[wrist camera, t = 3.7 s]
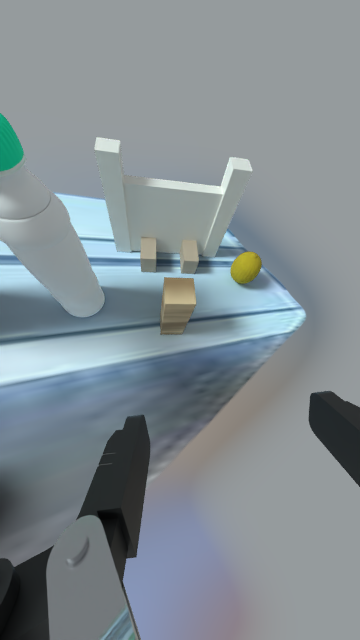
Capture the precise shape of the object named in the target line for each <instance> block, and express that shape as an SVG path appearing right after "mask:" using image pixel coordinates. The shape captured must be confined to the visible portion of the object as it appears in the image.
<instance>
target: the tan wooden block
mask: <svg viewBox="0 0 360 640" xmlns="http://www.w3.org/2000/svg"><path fill="white" fill-rule="evenodd" d="M195 306H196V297H195V287H194V279H193V278H167V277H164V286H163V295H162V304H161V312H160V329H161V335H162V334H182V333H183V331H184V329H185V327H186V325H187V323H188V321H189V319H190V316H191V314H192V312H193V310H194V308H195Z"/></svg>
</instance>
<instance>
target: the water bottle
mask: <svg viewBox="0 0 360 640" xmlns="http://www.w3.org/2000/svg"><path fill="white" fill-rule="evenodd" d="M25 163H26V157H25V155H24V152H23V149H22V146H21V144H20V142H19V139H18V138H17V135H16V133H15V132H14V130H13V128H12V127H11V125H10V123H9V122H8V121H7V119H6V118H5V117H4V116H3V115H2V114H1V113H0V240H1V241H3V242H4V243H6V244H7V246H8V247H9V248H10V250H11V251H12V252H13V253H14V255H15V256H16V257H17V258H18V259H19V260H20V262H21V263H22V264H23V265H24V266H25V267H26V268H27V269H28V270H29V272H30V273H31V274H32V275H33V276H34V277H35V278H36V279H37V280H38V281H39V282H40V283H41V284H42V285H44V286H45V287H46V288H47V289H48V290H49V292H50V293H51V295H52V296H53V297H54V298H55V299H56V300H57V301H58V302H60V304H61V305H62V306H63V308H64V309H65V310H66V311H67V312H68V313H69V314H71V315H73V316H76V317H89V316H92V315H94V314H96V313H97V312H98V311H99V310H100V309H101V308H102V307H103V305H104V301H105V297H104V293H103V291H102V289H101V287H100V285H99V283H98V280H97V277H96V275H95V274H94V272H93V271H92V268H91V265H90V262H89V260H88V257H87V255H86V252H85V250H84V248H83V246H82V243H81V241H80V239H79V237H78V235H77V233H76V231H75V229H74V228H73V226H72V224H71V222H70V217H69V214H68V211H67V209H66V207H65V206H64V204H63V203H62V201H61V200H60V199H59V198H58V197H57V196H56V195H55V194H54V193H53V192H52V191H50V190H49V189H48V188H47V187H46V186H45V185H44V184H43V182H42V181H41V180H40V179H38V178H37V177H36V176H35V175H33V174H32V173H31V172H29V171H28V169H27V168H26V166H25Z"/></svg>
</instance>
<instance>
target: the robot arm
mask: <svg viewBox="0 0 360 640" xmlns="http://www.w3.org/2000/svg"><path fill="white" fill-rule="evenodd" d="M309 423H310V427H311V429H312V431H313V432H314V434H315V435H316V436H317V437H318V439H319V440H320V441H321V442H322V443H323V444H324V445H325V447H326V448H327V449H328V450H329V451H330V453H331V454H332V455H333V456H334V457H335V459H336V460H337V461H338V462H339V463H340V464H341V466H342V467H343V468H344V469H345V470H346V471H347V472H348V474H349V475H350V476H351V477H352V478H353V480H354V481H355V482H356V483H357V484H358V485H359V487H360V407H358V406H356V405H353V404H352V403H350V402H348V401H344V400H342V399H341V398H340V397H338V396H337V395H336V394H335V393H333V392H331V391H324V392H317V393H312V394H311V396H310V407H309ZM149 458H150V439H149V434H148V430H147V425H146V421H145V417H144V415H136V416H129V417H127V419H126V421H125V424H124V428H123V430H116V431H115V433H114V434H113V435H112V436H111V438H110V439H109V440H108V442H107V444H106V447H105V449H104V452H103V456H102V457H101V460H100V462H99V467H97V470H96V472H95V475H94V477H93V480H92V483H91V485H90V488H89V490H88V493H87V495H86V498H85V501H84V503H83V506H82V508H81V511H80V513H79V515H78V517H77V519H76V521H74V522H73V523H72V524H71V525H69V526H68V527H67V528H66V529H65V531H64V532H63V533H62V534H61V535H60V537H59V538H58V540H57V541H56V543H55V545H53V546H52V547H51V548H49V549H47V550H46V551H44V552H42V553H40V554H38V555H36V556H34V557H33V558H31V559H29V560H27V561H25V562H23V563H21V564H19V565H18V566H16V567H13V565H12V564H11V562H10V561H9V560H8V559H5V558H1V559H0V640H141V638H140V635H139V632H138V629H137V625H136V622H135V619H134V616H133V613H132V609H131V606H130V603H129V600H128V597H127V594H126V590H125V587H124V584H123V576H124V570H125V563H126V558H134V557H136V555H137V548H138V541H139V533H140V526H141V518H142V511H143V503H144V495H145V488H146V481H147V473H148V466H149Z"/></svg>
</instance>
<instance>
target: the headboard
mask: <svg viewBox="0 0 360 640" xmlns="http://www.w3.org/2000/svg"><path fill="white" fill-rule="evenodd" d="M94 151H95V156H96V160H97V164H98V169H99V173H100V178H101V182H102V187H103V191H104V196H105V200H106V204H107V209H108V213H109V218H110V222H111V227H112V231H113V236H114V240H115V244H116V249H117V252H131V251H141V257H140V259H141V272H156V252H161V253H179V254H180V264H181V273H187V274H195V271H196V268H197V266H198V263H199V258H198V255H202V257H215V255H216V253H217V250H218V248H219V246H220V244H221V242H222V239H223V237H224V235H225V233H226V230H227V228H228V226H229V224H230V221H231V219H232V217H233V215H234V212H235V210H236V208H237V206H238V203H239V201H240V199H241V197H242V195H243V192H244V190H245V188H246V186H247V183H248V181H249V179H250V177H251V174H252V172H253V171H252V168H251V165H250V162H249V160H248V159H241V158H234V157H230V159H229V162H228V165H227V168H226V171H225V174H224V177H223V180H222V183H221V186H211V185H203V184H194V183H186V182H178V181H169V180H161V179H152V178H144V177H136V176H127V175H124V171H123V163H122V154H121V146H120V141H119V140H112V139H106V138H99V137H97V139H96V144H95V148H94Z"/></svg>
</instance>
